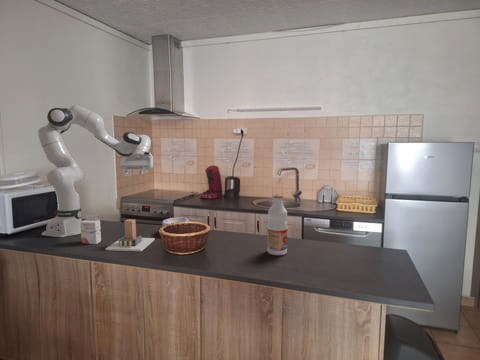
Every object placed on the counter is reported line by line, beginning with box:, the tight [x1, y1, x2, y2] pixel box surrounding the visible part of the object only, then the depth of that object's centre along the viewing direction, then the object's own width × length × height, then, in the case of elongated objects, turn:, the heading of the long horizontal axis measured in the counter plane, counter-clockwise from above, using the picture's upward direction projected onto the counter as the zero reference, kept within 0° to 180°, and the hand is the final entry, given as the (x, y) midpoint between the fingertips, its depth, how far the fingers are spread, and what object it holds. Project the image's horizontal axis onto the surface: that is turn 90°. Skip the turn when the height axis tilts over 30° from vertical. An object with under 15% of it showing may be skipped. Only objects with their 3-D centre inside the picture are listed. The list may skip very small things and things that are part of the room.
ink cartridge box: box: [80, 214, 102, 245], centre depth 164 cm, size 9×5×15 cm, turn 84°
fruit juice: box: [266, 193, 288, 256], centre depth 148 cm, size 9×9×28 cm
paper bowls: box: [161, 217, 190, 227], centre depth 181 cm, size 15×15×8 cm
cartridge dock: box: [105, 235, 156, 252], centre depth 161 cm, size 18×18×4 cm
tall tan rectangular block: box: [124, 218, 137, 240], centre depth 160 cm, size 4×4×12 cm
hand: (133, 173), depth 185 cm, fingers open, 8 cm apart
